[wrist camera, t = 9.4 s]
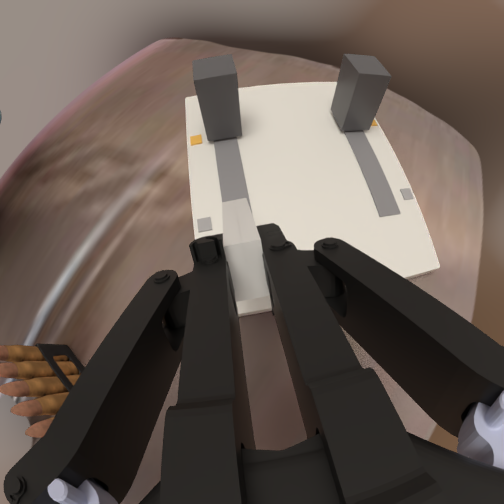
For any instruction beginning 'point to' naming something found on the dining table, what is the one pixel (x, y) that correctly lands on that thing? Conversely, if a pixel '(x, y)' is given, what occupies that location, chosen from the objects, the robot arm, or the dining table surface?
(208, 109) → the block
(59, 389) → the ammunition clip
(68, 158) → the dining table surface
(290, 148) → the switch panel
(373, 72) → the block
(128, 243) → the dining table surface
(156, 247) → the dining table surface
